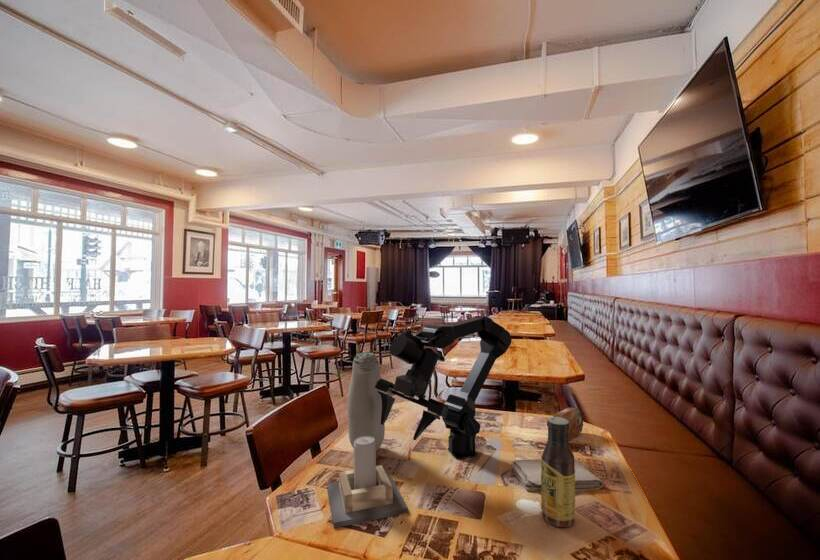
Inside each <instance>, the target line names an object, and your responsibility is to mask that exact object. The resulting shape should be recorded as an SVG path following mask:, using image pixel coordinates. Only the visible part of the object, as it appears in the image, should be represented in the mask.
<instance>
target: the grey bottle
mask: <svg viewBox="0 0 820 560" xmlns="http://www.w3.org/2000/svg"><path fill="white" fill-rule="evenodd" d="M381 378H382V377H381V369H380V361H379V358H378V357H377V355H376V354H375V353H373V352H370V351H364V352H363V351H362V352H360V353H358V354H357V355H355V356H354V358H353V361H352V369H351V378H350V383H349V386H348V392H347V416H348V418H347V422H348V424H347V425H348V439H349V443H350V444H351V447H352V448H353V449H354V440H355V439H356V438H358V437H361V436H371V437H373V438H374V439H375V443H376V452H377V451H379V449H380V448H381V446H382V444H383V442H384V440H385V434H386V433H385V430H386V427H385V423H386V422H385V423H384V425H381V413H382V399H381V395H380V394H379V393H378V391H380V390H378V389H376V388H374V387H375V385H376V382H377V381H378V380H379V379H381Z"/></svg>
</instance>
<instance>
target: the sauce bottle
mask: <svg viewBox="0 0 820 560" xmlns="http://www.w3.org/2000/svg"><path fill="white" fill-rule="evenodd" d="M546 421H547V422H546V427H547V441H546V444H545V446H544V449H543V452H542V454H541V458H540V459H541V492H540V494H541V495H540V496H541V497H540V499H541V500H540V501H541V502H540V503H541V504H540V505H541V512H542V517H543V519H544V520H545V521H546V522H547V523H549V524H550V525H551V526H553V527H556V528H557V527H559V528H568V527H571V526H573V525H574V523H575V516H576V490H575V469H574V466H575V465H574V459H575V455H574V453H573V450H572V449H571V447H570V446H569V442H570V441H569V440H568V430H569V421H568V420H566V419H564V418H561V417H553V416H551V417H548V418H547V419H546Z"/></svg>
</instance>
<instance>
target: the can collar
mask: <svg viewBox="0 0 820 560" xmlns="http://www.w3.org/2000/svg"><path fill="white" fill-rule="evenodd" d="M326 489H327V495H328V496H327V498H328V502H329V508H330V513H331V518H332V519H331V520H332V526H333V529H337V528H342V527H346V526H351V525H352V526H353V525H356V524H360V523H365V522H371V521H375V520H380V519H385V518H389V517H393V516H394V517H395V516H398V515H405V514H408V513H409V510H408V506H407V504H406V502H405V500H404V498H403V497H402V494H401V492H400V490H399V488H398V487H397V485H396V483H395V481H394V479H393V477H392V475H391V473H387V472H386V471H385V469H384V467H383V465H376V486H373V487H367V488H362V489H356V490H355V488H354V469H350V470H344V471H339V472H338V482H333V483H332V482H331V483H327V484H326Z"/></svg>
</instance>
